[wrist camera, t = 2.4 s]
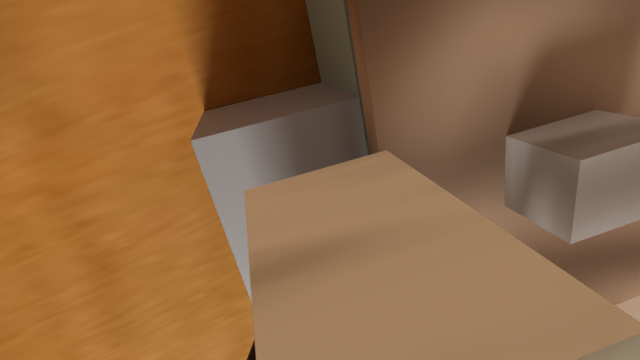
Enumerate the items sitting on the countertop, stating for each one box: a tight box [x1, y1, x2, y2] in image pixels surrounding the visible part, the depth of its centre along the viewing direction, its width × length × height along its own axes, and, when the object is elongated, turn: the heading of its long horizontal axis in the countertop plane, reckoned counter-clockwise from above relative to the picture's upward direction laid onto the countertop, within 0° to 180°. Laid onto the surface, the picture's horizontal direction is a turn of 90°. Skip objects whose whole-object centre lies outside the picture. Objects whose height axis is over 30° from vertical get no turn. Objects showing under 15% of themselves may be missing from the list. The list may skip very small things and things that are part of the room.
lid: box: [346, 0, 640, 305], centre depth 13 cm, size 20×14×4 cm
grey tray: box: [191, 0, 370, 302], centre depth 17 cm, size 20×20×6 cm
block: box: [244, 150, 640, 360], centre depth 7 cm, size 6×4×6 cm, turn 12°
